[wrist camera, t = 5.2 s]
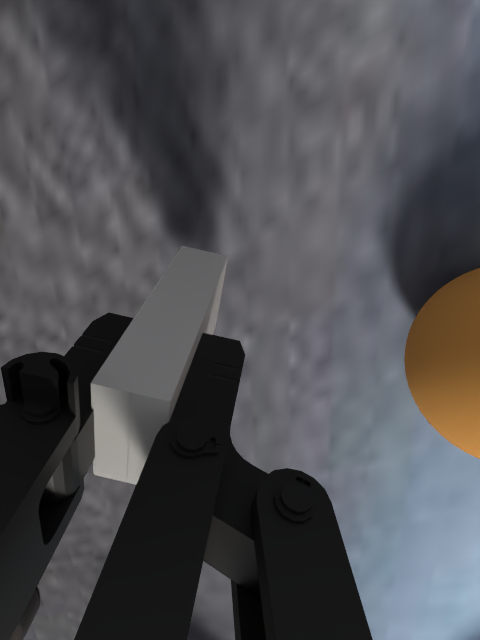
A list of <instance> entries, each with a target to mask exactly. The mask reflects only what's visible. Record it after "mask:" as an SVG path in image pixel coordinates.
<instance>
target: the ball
mask: <svg viewBox="0 0 480 640" xmlns="http://www.w3.org/2000/svg"><path fill="white" fill-rule="evenodd" d="M405 371H406V377H407V382H408V386H409V388H410V391H411V393H412V396H413V398H414V401H415V403H416V404H417V406H418V408H419V410H420V411H421V413H422V414H423V415H424V417H425V418H426V419H427V421H428V422H429V423H430V424H431V425H432V426H433V427H434V428H435V429H436V430H437V431H438V432H439V433H440V434H441V435H442V436H443V437H444V438H445V439H447V440H448V441H449V442H450V443H452V444H453V445H455V446H456V447H458V448H460V449H461V450H463V451H464V452H466V453H468V454H470V455H472V456H475V457H477V458H479V459H480V268H477V269H475V270H472V271H470V272H467V273H465V274H462V275H461V276H459V277H457V278H455V279H454V280H452V281H450V282H448V283H447V284H446V285H444V286H443V287H442V288H440V289H439V290H438V291H437V292H436V293H435V294H434V295H433V296H432V297H431V298H430V299H429V300H428V301H427V302H426V303H425V304H424V306H423V307H422V308H421V310H420V311H419V313H418V314H417V316H416V318H415V320H414V321H413V323H412V326H411V328H410V331H409V334H408V338H407V342H406V348H405Z"/></svg>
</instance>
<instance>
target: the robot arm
mask: <svg viewBox="0 0 480 640" xmlns="http://www.w3.org/2000/svg"><path fill="white" fill-rule="evenodd" d="M227 259H228V256H225V255H221V254H217V253H212V252H208V251H203V250H199V249H194V248H190V247H185V246H181V248H180V249H179V251H178V252H177V254H176V255H175V257H174V258H173V260H172V261H171V263H170V264H169V266H168V267H167V269H166V270H165V272H164V273H163V275H162V276H161V278H160V279H159V281H158V282H157V284H156V285H155V287H154V288H153V290H152V291H151V293H150V294H149V296H148V297H147V299H146V301H145V302H144V304H143V305H142V307H141V308H140V310H139V311H138V313H137V314H136V316H135V317H134V318H130V317H126V316H121V315H117V314H113V313H107V314H105V315H103V316H102V317H100V318H98V319H96V320H94V321H92V323H91V324H90V325H89V326H88V328H87V329H86V330H85V331H84V333H83V335H82V336H80V338H79V339H78V340H77V341H76V342H75V344H74V347H71V349H70V350H69V351H68V352H67V354H66V355H65V356H62V355H59V354H57V353H48V352H38V353H31V354H25V355H23V356H20V357H17V358H15V359H12V360H11V361H9V362H8V363H7V364H5V365H4V366H2V367H1V371H2V377H3V382H4V387H5V392H6V398H7V402H6V403H5V404H3V405H0V640H23V638H24V637H25V635H26V633H27V631H28V629H29V627H30V625H31V623H32V621H33V619H34V617H35V615H36V613H37V611H38V609H39V606H40V598H39V595H38V592H37V590H36V587H37V585H38V583H39V581H40V579H41V577H42V575H43V573H44V571H45V569H46V567H47V565H48V563H49V561H50V559H51V558H52V556H53V554H54V552H55V550H56V548H57V546H58V544H59V542H60V540H61V538H62V536H63V534H64V532H65V530H66V528H67V526H68V524H69V522H70V520H71V518H72V516H73V514H74V512H75V510H76V508H77V506H78V504H79V502H80V500H81V498H82V494H83V491H84V479H83V478H84V477H85V475H86V473H87V471H88V469H89V467H90V465H91V463H92V461H93V470H94V475H97V476H101V477H106V478H110V479H114V480H119V481H123V482H127V483H131V484H136V487H135V489H134V492H133V494H132V497H131V499H130V502H129V504H128V507H127V509H126V512H125V514H124V517H123V519H122V522H121V524H120V527H119V529H118V532H117V534H116V537H115V539H114V542H113V544H112V547H111V549H110V552H109V554H108V557H107V559H106V562H105V564H104V567H103V569H102V572H101V574H100V577H99V579H98V582H97V584H96V587H95V589H94V592H93V594H92V597H91V599H90V602H89V604H88V606H87V609H86V611H85V614H84V616H83V619H82V621H81V624H80V626H79V629H78V631H77V634H76V636H75V639H74V640H187V636H188V631H189V626H190V621H191V617H192V612H193V607H194V602H195V597H196V593H197V588H198V583H199V578H200V573H201V569H202V564H203V561H204V562H206V563H207V564H209V565H210V566H212V567H213V568H215V569H216V570H218V571H219V572H221V573H222V574H224V575H225V576H227V577H228V578H230V579H231V587H232V600H233V614H234V627H235V640H372V636H371V633H370V630H369V626H368V623H367V620H366V616H365V613H364V610H363V606H362V603H361V600H360V596H359V593H358V590H357V586H356V583H355V580H354V576H353V573H352V570H351V566H350V563H349V560H348V556H347V553H346V550H345V546H344V543H343V540H342V536H341V533H340V530H339V526H338V523H337V520H336V516H335V513H334V510H333V506H332V503H331V501H330V499H329V497H328V495H327V493H326V491H325V489H324V488H323V487H322V486H321V485H320V484H319V483H318V482H317V481H316V480H315V479H314V478H313V477H311V476H309V475H307V474H306V473H304V472H302V471H298V470H293V469H288V468H286V469H280V470H274V471H272V472H271V473H269V474H267V473H266V472H264V471H262V470H260V469H258V468H257V467H255V466H253V465H252V464H250V463H249V462H247V461H246V460H244V459H243V458H242V457H241V456H240V454H239V453H238V452H237V451H236V449H235V448H234V446H233V444H232V441H231V437H230V426H231V421H232V416H233V411H234V406H235V402H236V397H237V392H238V387H239V382H240V377H241V372H242V368H243V363H244V358H245V353H244V351H243V348H242V345H241V343H240V341H237V340H233V339H229V338H224V337H220V336H215V335H213V333H214V330H215V327H216V322H217V316H218V310H219V305H220V299H221V293H222V288H223V282H224V276H225V271H226V265H227Z"/></svg>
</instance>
